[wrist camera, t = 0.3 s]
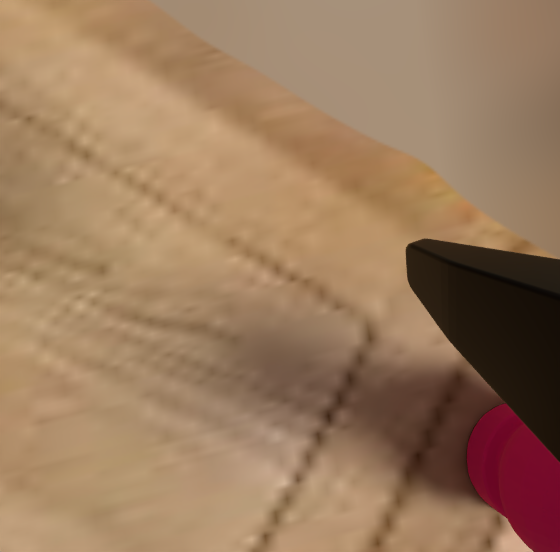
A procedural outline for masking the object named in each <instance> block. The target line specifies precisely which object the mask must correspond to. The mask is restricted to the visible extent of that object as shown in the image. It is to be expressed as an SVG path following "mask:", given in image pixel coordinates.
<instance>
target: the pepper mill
mask: <svg viewBox="0 0 560 552" xmlns="http://www.w3.org/2000/svg"><path fill="white" fill-rule="evenodd" d="M467 466H468V473H469V476H470V479H471V482H472V484H473V486H474V487H475V489H476V491H477V492H478V494H479V495H480V497H481V498H482V499H483V500H484V501H485V502H486V503H488V504H489V505H490V506H491V507H492V508H494V509H495V510H497V511H498V512H499V513H501V514H502V515H503V516H505V517H506V518H507V519H508V521H509V522H510V524H511V526H512V528H513V529H514V531H515V532H516V534H517V535H518V536H519V537H520V538H521V539H522V541H523V542H524V543H525V544H526V545H527V546H528V547H529V548H530V549H532V550H533V551H534V552H560V462H559V461H558V460H557V459H556V458H555V457H554V456H553V455H552V454H551V452H550V451H549V450H548V449H547V448H546V447H545V446H544V445H543V444H542V443H541V441H540V440H539V439H538V438H537V437H536V436H535V435H534V434H533V433H532V432H531V430H530V429H529V428H528V427H527V426H526V425H525V424H524V423H523V422H522V421H521V419H520V418H519V417H518V416H517V415H516V414H515V413H514V412H513V411H512V410H511V408H510V407H509V406H508V405H507V404H506V403H505V404H502V405H499V406H497V407H495V408H493V409H492V410H490V411H489V412H487V413H486V414H485V415H483V417H482V418H481V419H480V420H479V422H478V423H477V424H476V426H475V427H474V429H473V432H472V434H471V436H470V439H469V442H468V448H467Z"/></svg>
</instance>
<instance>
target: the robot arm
mask: <svg viewBox="0 0 560 552" xmlns="http://www.w3.org/2000/svg"><path fill="white" fill-rule="evenodd" d="M406 265H407V278H408V282H409V285H410V287H411V289H412V290H413V291H414V293H415V294H416V296H417V297H418V298H419V300H420V301H421V303H422V304H423V305H424V307H425V308H426V310H427V311H428V312H429V314H430V315H431V317H432V318H433V319H434V321H435V322H436V324H437V325H438V326H439V328H440V329H441V330H442V332H443V333H444V334H445V336H446V337H447V338H448V340H449V341H450V342H451V343H452V344H453V345H454V347H455V348H456V349H457V350H458V351H459V352H460V353H461V354H462V356H463V357H464V358H465V359H466V360H467V361H468V362H469V363H470V364H471V365H472V367H473V368H474V369H475V370H476V371H477V372H478V373H479V374H480V375H481V376H482V378H483V379H484V380H485V381H486V382H487V383H488V384H489V385H490V386H491V387H492V389H493V390H494V391H495V392H496V393H497V394H498V395H499V396H500V397H501V399H502V400H503V401H504V402H505V403H506V404H507V405H508V406H509V407H510V408H511V410H512V411H513V412H514V413H515V414H516V415H517V416H518V417H519V418H520V419H521V421H522V422H523V423H524V424H525V425H526V426H527V427H528V428H529V429H530V430H531V432H532V433H533V434H534V435H535V436H536V437H537V438H538V439H539V440H540V441H541V443H542V444H543V445H544V446H545V447H546V448H547V449H548V450H549V451H550V452H551V454H552V455H553V456H554V457H555V458H556V459H557V460H558V461H559V462H560V259H553V258H547V257H541V256H534V255H528V254H522V253H515V252H509V251H502V250H496V249H490V248H483V247H477V246H471V245H464V244H458V243H452V242H445V241H439V240H433V239H421V240H418V241H415V242H413V243H410V244H408V246H407V247H406Z"/></svg>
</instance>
